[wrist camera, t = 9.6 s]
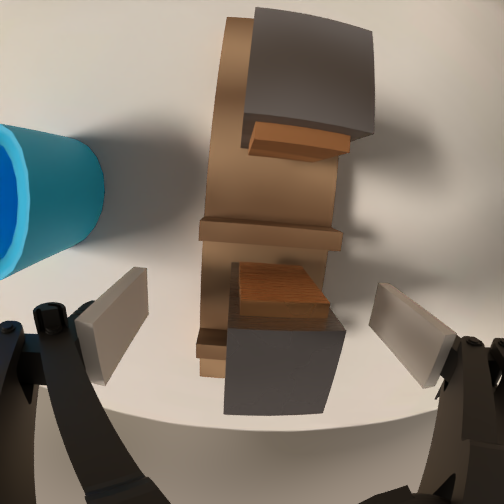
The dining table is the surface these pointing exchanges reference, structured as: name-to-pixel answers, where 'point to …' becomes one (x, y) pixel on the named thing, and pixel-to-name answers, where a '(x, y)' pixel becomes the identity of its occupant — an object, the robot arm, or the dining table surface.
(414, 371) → the robot arm
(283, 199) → the rail
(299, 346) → the dark grey upright block
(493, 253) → the dining table surface
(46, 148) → the mug
